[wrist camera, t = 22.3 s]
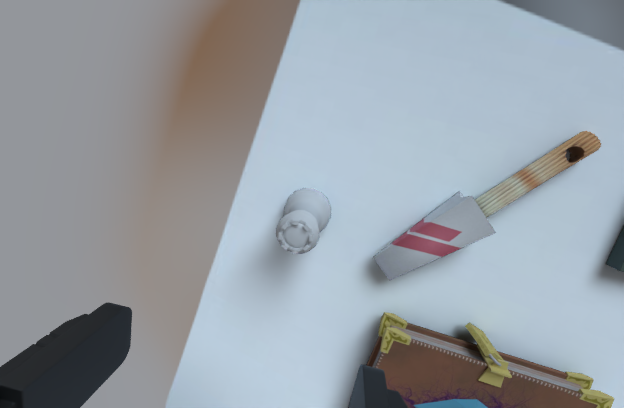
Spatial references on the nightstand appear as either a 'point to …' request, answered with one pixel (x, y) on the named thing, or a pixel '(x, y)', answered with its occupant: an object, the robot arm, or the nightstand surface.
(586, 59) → the nightstand surface
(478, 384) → the book
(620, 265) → the green square board
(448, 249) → the grey trowel
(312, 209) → the rook chess piece
